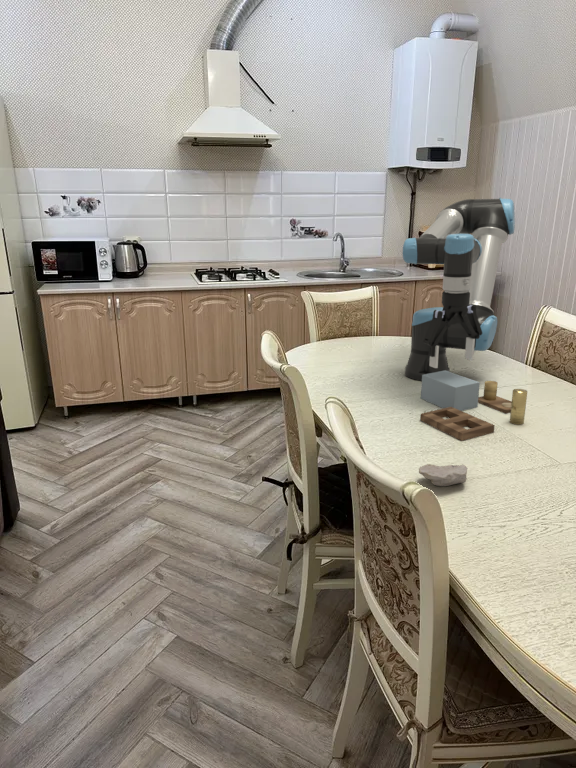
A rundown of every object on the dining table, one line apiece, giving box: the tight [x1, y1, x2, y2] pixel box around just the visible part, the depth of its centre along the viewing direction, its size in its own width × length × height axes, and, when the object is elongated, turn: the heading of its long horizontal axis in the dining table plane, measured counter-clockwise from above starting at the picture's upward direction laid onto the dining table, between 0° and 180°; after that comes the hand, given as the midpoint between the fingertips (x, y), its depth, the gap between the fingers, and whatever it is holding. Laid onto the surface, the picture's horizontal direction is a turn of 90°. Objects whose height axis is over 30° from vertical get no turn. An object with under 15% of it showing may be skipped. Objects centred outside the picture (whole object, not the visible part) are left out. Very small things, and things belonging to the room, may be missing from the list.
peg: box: [509, 388, 528, 426], centre depth 148 cm, size 4×4×9 cm
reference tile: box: [478, 380, 512, 414], centre depth 162 cm, size 12×7×6 cm, turn 27°
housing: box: [420, 370, 481, 412], centre depth 164 cm, size 14×9×8 cm, turn 27°
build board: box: [419, 407, 495, 442], centre depth 148 cm, size 16×11×2 cm
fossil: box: [418, 463, 468, 487], centre depth 118 cm, size 9×6×10 cm
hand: (451, 363), depth 162 cm, fingers open, 13 cm apart
